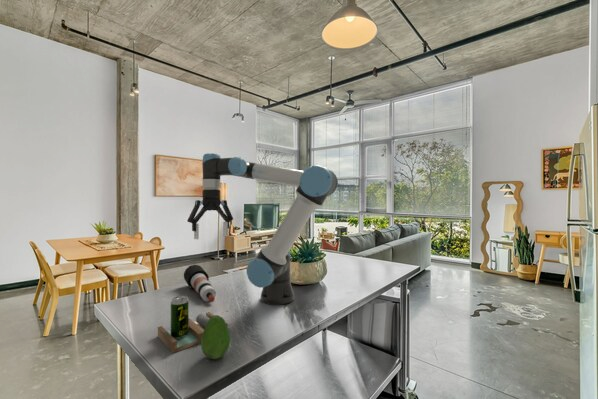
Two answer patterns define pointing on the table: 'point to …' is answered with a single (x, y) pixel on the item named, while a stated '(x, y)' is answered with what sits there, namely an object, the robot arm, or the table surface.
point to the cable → (199, 282)
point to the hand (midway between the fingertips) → (211, 237)
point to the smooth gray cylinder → (202, 320)
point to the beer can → (179, 317)
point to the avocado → (215, 338)
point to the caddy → (188, 341)
